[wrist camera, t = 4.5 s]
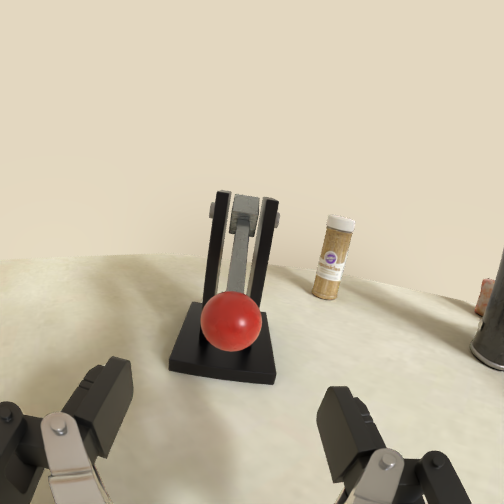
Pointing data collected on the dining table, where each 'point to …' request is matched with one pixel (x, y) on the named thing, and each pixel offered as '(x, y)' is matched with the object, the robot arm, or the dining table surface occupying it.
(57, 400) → the dining table surface
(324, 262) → the sprinkles bottle
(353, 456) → the robot arm
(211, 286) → the bracket
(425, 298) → the dining table surface
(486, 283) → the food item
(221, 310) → the lever
